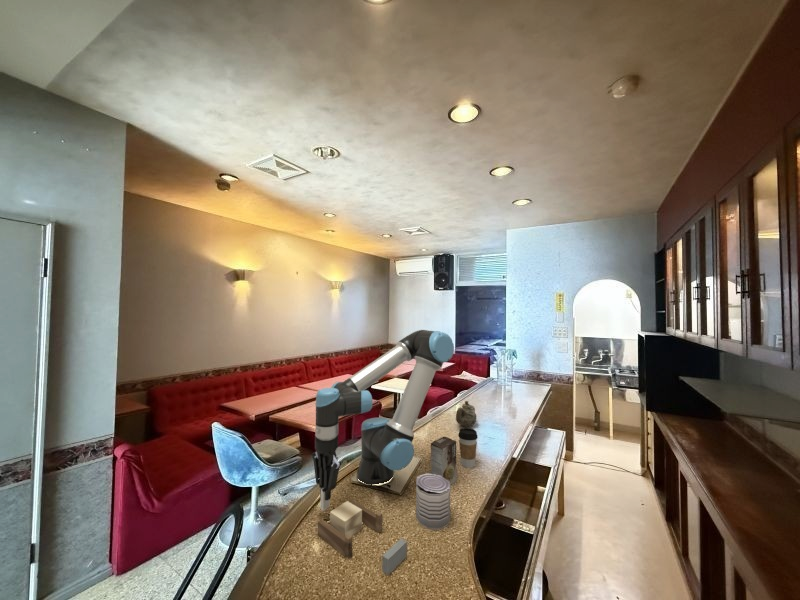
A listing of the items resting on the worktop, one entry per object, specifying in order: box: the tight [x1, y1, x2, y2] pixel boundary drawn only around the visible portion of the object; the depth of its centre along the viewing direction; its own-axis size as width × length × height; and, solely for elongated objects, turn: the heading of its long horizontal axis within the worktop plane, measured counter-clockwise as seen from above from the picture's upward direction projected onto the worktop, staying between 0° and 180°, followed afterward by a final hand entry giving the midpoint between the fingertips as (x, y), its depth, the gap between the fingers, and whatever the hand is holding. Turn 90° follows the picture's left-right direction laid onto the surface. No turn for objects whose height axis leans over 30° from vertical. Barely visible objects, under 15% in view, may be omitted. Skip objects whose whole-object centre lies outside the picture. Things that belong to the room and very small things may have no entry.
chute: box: [317, 499, 384, 560], centre depth 95 cm, size 14×14×5 cm
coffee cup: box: [458, 427, 478, 469], centre depth 137 cm, size 8×8×15 cm
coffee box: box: [430, 436, 457, 486], centre depth 123 cm, size 9×6×16 cm
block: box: [329, 500, 363, 537], centre depth 96 cm, size 7×7×6 cm
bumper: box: [381, 537, 408, 576], centre depth 84 cm, size 8×2×4 cm, turn 141°
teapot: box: [455, 400, 477, 428], centre depth 181 cm, size 21×12×15 cm, turn 144°
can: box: [415, 473, 451, 530], centre depth 102 cm, size 11×11×12 cm
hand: (325, 508), depth 103 cm, fingers closed
